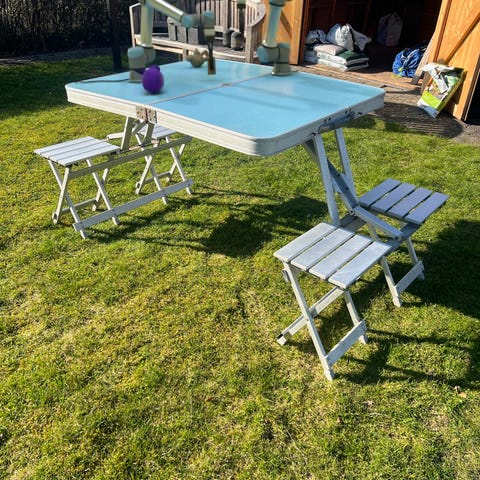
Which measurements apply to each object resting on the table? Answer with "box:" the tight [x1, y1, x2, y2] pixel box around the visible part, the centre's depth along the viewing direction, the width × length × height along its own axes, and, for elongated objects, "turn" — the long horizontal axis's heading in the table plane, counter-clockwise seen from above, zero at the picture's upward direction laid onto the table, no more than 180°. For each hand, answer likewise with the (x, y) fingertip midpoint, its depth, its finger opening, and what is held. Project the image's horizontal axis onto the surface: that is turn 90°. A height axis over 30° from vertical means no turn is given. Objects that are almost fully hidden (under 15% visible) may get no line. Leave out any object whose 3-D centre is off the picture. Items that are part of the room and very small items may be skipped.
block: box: [206, 56, 217, 76], centre depth 332 cm, size 6×5×12 cm
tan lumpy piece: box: [185, 48, 209, 68], centre depth 384 cm, size 21×12×15 cm, turn 120°
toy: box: [134, 64, 165, 94], centre depth 304 cm, size 16×18×27 cm
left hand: (211, 69), depth 333 cm, fingers closed on block, 5 cm apart
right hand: (241, 33), depth 359 cm, fingers open, 13 cm apart
